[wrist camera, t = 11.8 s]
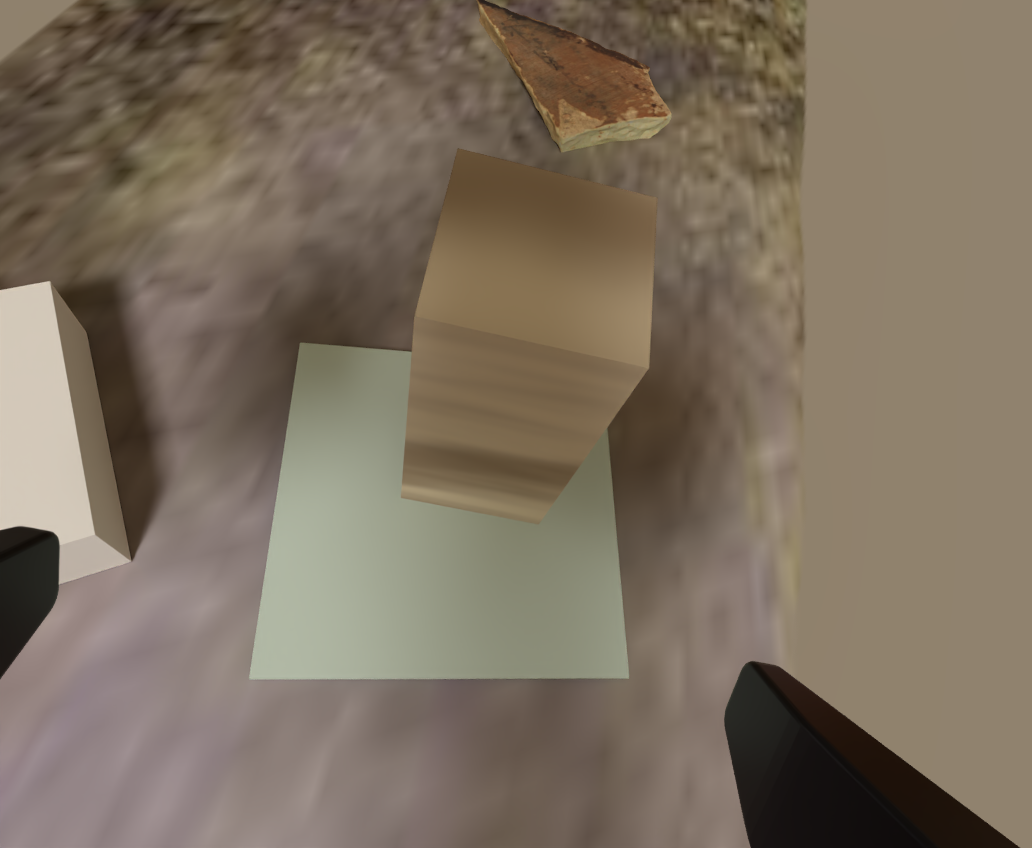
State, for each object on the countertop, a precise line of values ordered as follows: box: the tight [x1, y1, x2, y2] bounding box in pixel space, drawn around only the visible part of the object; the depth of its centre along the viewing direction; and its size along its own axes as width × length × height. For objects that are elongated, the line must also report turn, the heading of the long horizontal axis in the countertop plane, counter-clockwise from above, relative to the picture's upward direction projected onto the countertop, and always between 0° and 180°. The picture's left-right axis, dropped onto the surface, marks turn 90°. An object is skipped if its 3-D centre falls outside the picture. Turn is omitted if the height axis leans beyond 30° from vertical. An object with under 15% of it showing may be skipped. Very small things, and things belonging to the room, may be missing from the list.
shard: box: [477, 0, 671, 152], centre depth 35 cm, size 11×8×2 cm
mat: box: [249, 343, 629, 680], centre depth 23 cm, size 12×12×1 cm
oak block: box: [401, 149, 657, 524], centre depth 20 cm, size 5×5×11 cm
